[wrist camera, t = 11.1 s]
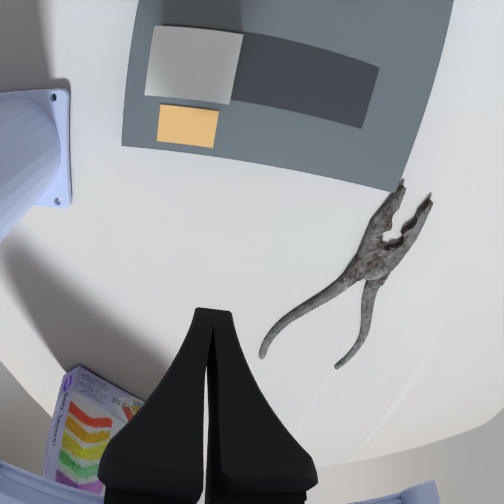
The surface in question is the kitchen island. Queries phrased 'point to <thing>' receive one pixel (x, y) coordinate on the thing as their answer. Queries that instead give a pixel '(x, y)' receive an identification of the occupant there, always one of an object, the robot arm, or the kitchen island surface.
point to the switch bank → (299, 84)
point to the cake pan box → (85, 428)
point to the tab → (192, 64)
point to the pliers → (364, 269)
